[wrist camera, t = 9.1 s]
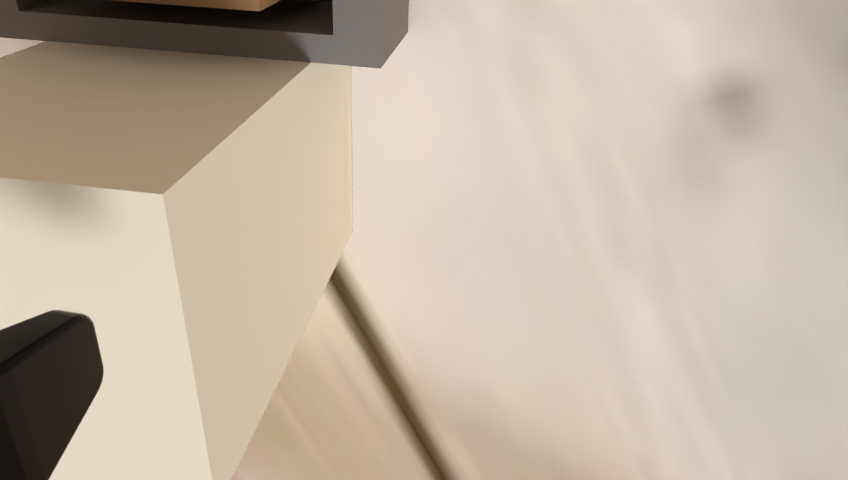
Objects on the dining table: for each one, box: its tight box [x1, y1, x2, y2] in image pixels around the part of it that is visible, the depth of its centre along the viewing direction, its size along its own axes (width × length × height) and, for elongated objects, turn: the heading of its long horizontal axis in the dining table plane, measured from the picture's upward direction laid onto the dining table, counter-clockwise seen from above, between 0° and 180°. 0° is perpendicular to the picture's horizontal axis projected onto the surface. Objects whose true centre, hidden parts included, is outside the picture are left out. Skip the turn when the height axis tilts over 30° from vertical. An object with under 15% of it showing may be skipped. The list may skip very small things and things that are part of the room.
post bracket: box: [0, 0, 409, 480], centre depth 13 cm, size 9×11×10 cm
